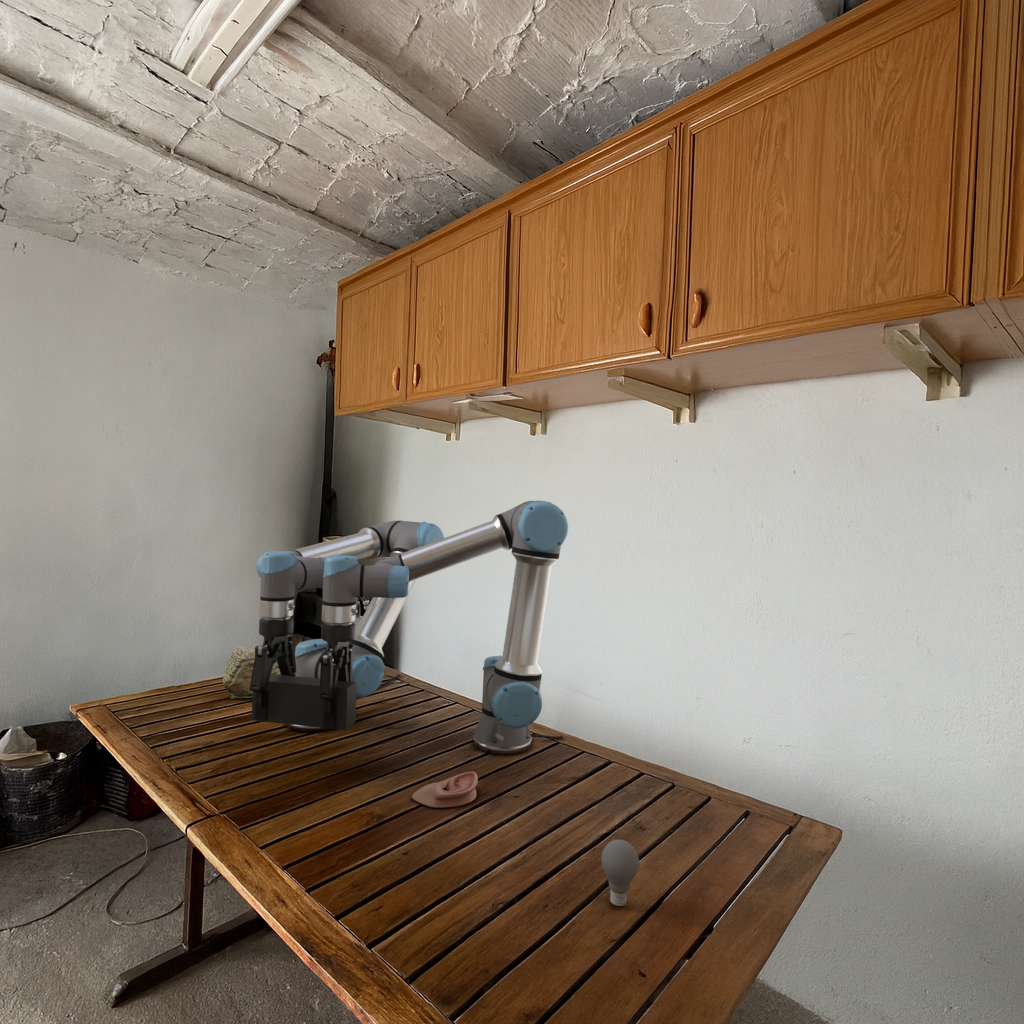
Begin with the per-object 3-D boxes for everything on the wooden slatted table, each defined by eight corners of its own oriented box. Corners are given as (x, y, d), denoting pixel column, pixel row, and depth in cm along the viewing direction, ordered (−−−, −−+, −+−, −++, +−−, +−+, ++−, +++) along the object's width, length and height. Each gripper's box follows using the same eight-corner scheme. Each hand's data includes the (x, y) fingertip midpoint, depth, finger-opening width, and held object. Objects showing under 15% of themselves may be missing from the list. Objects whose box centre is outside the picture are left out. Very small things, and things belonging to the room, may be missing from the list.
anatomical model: (407, 784, 132) (425, 763, 143) (406, 803, 132) (424, 780, 143) (468, 793, 129) (482, 770, 140) (467, 812, 129) (481, 788, 141)
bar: (251, 720, 147) (252, 679, 147) (264, 712, 152) (265, 673, 152) (345, 730, 144) (347, 688, 143) (355, 722, 149) (356, 681, 149)
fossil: (218, 695, 195) (220, 647, 195) (278, 685, 208) (279, 640, 207) (228, 703, 189) (230, 653, 188) (289, 692, 201) (290, 645, 201)
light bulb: (595, 892, 105) (598, 832, 105) (631, 891, 105) (634, 832, 105) (604, 915, 99) (607, 852, 99) (641, 915, 99) (644, 852, 99)
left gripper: (266, 627, 137) (262, 730, 138) (313, 610, 159) (309, 699, 160) (234, 625, 138) (230, 726, 139) (285, 608, 160) (282, 696, 161)
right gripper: (337, 631, 137) (333, 738, 137) (369, 616, 155) (365, 710, 155) (304, 629, 138) (300, 734, 138) (340, 614, 156) (336, 708, 156)
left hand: (272, 711), depth 149 cm, fingers open, 9 cm apart
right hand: (335, 722), depth 147 cm, fingers closed on bar, 5 cm apart
